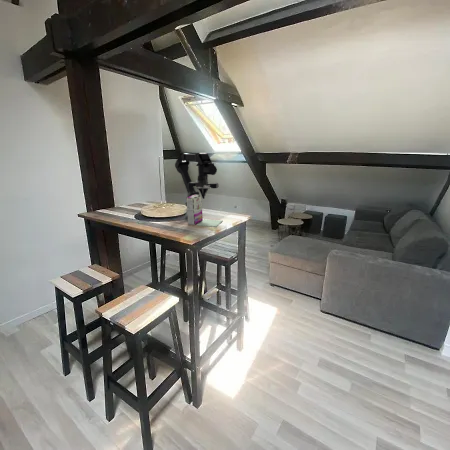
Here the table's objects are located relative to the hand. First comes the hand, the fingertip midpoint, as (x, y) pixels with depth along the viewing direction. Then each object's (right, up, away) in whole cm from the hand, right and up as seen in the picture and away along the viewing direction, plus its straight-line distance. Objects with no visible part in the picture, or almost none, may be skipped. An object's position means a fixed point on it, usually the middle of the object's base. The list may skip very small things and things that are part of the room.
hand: (203, 198), depth 155 cm
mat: (+5, -16, -8) cm, 19 cm away
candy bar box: (-5, -16, -6) cm, 17 cm away
